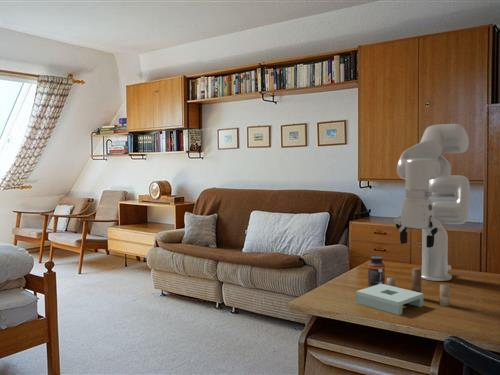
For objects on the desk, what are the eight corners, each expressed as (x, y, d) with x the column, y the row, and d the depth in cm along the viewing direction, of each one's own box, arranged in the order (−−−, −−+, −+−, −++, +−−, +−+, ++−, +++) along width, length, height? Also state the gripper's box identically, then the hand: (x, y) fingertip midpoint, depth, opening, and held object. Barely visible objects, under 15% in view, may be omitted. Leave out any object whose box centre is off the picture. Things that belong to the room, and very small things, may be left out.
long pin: (414, 296, 156) (415, 267, 155) (422, 297, 153) (423, 269, 153) (410, 297, 154) (410, 269, 153) (418, 299, 151) (418, 270, 151)
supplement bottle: (385, 289, 164) (385, 259, 163) (368, 289, 165) (368, 258, 164) (383, 285, 170) (384, 255, 169) (367, 284, 171) (367, 255, 170)
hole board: (381, 294, 158) (381, 283, 157) (423, 305, 145) (423, 293, 145) (356, 302, 149) (356, 291, 149) (398, 315, 136) (398, 302, 136)
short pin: (389, 289, 163) (389, 276, 163) (397, 291, 161) (397, 278, 161) (385, 291, 161) (385, 277, 161) (392, 293, 159) (392, 279, 159)
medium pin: (442, 302, 148) (442, 283, 147) (451, 304, 145) (451, 285, 145) (437, 304, 146) (438, 285, 146) (446, 306, 144) (446, 286, 143)
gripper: (447, 195, 147) (446, 247, 148) (400, 193, 161) (400, 241, 161) (435, 196, 142) (434, 250, 143) (388, 194, 156) (388, 243, 157)
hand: (416, 245), depth 152 cm, fingers open, 9 cm apart
